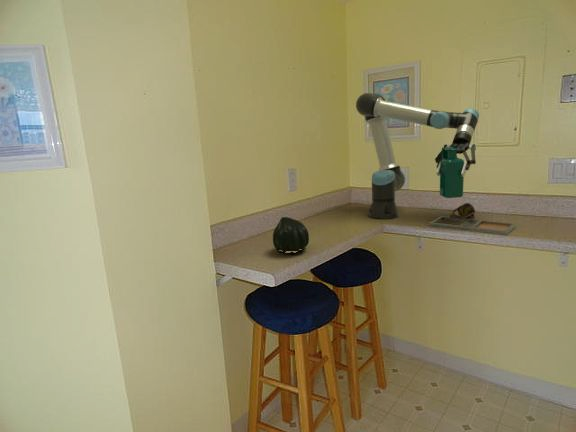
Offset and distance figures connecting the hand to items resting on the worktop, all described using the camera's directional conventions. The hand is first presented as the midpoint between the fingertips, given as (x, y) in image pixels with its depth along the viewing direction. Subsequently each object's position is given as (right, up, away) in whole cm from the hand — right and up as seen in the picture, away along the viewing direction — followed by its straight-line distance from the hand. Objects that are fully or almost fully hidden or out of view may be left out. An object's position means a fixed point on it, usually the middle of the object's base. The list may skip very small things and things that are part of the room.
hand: (449, 174), depth 174 cm
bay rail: (+10, -23, +1) cm, 25 cm away
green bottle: (+2, -9, +5) cm, 11 cm away
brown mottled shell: (+13, -20, +18) cm, 29 cm away
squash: (-71, -33, -19) cm, 81 cm away
